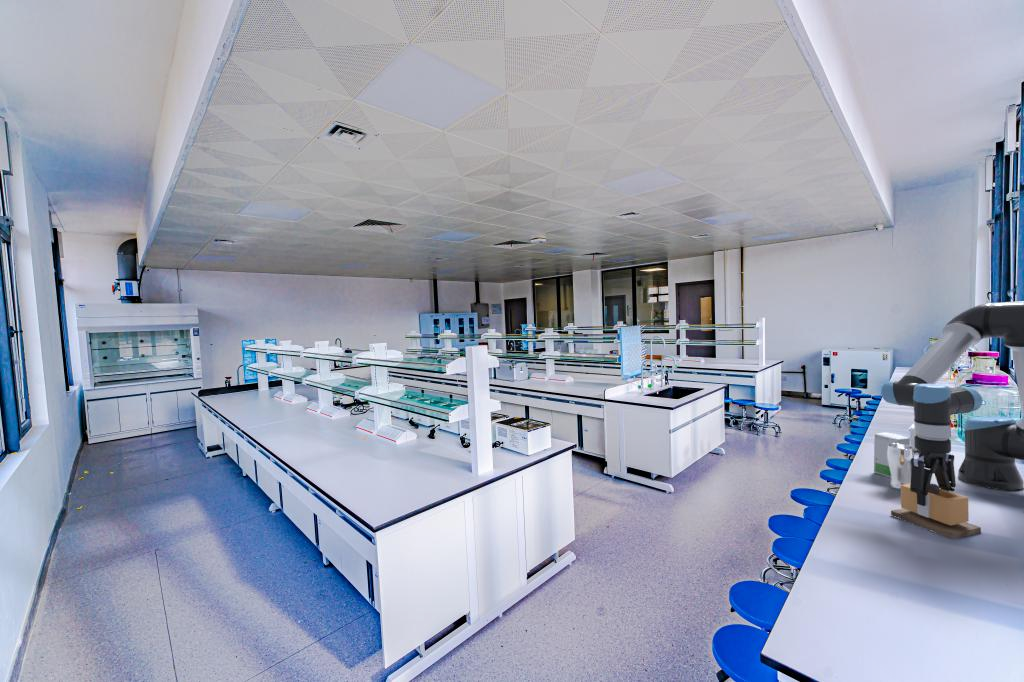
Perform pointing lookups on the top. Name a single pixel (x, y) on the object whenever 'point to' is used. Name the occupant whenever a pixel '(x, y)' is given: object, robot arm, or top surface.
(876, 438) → the skincare box
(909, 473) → the beer glass
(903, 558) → the top surface
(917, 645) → the top surface
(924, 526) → the keeper board
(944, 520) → the orange link
